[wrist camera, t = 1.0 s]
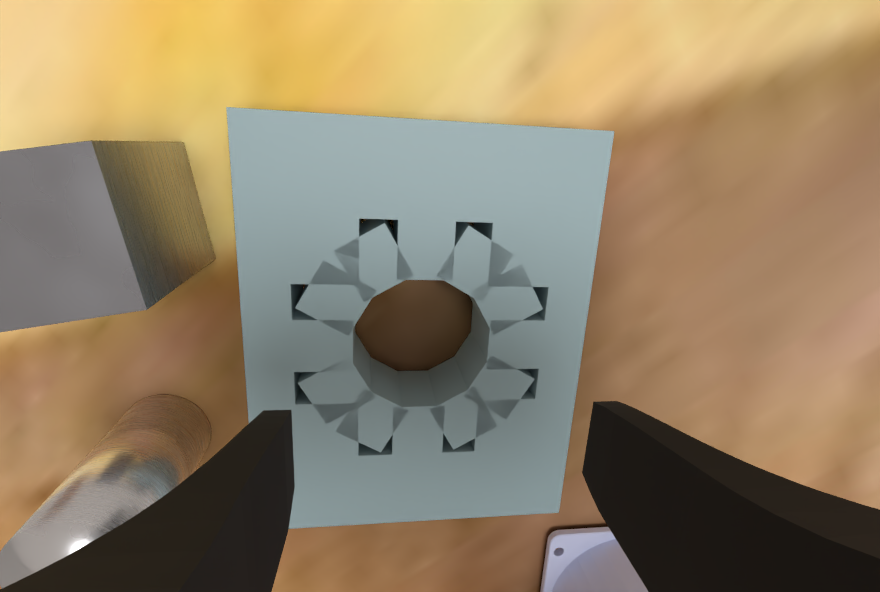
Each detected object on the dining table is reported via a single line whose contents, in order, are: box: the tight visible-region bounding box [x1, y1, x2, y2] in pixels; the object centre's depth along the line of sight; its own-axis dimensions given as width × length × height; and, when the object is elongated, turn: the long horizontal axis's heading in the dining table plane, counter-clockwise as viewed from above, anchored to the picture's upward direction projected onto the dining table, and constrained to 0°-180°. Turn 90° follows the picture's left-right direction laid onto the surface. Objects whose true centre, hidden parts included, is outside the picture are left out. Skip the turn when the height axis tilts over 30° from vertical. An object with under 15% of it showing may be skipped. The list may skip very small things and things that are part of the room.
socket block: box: [227, 107, 614, 529], centre depth 19 cm, size 15×12×3 cm
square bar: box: [0, 141, 215, 332], centre depth 15 cm, size 4×4×6 cm
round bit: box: [0, 395, 211, 588], centre depth 17 cm, size 3×3×7 cm
